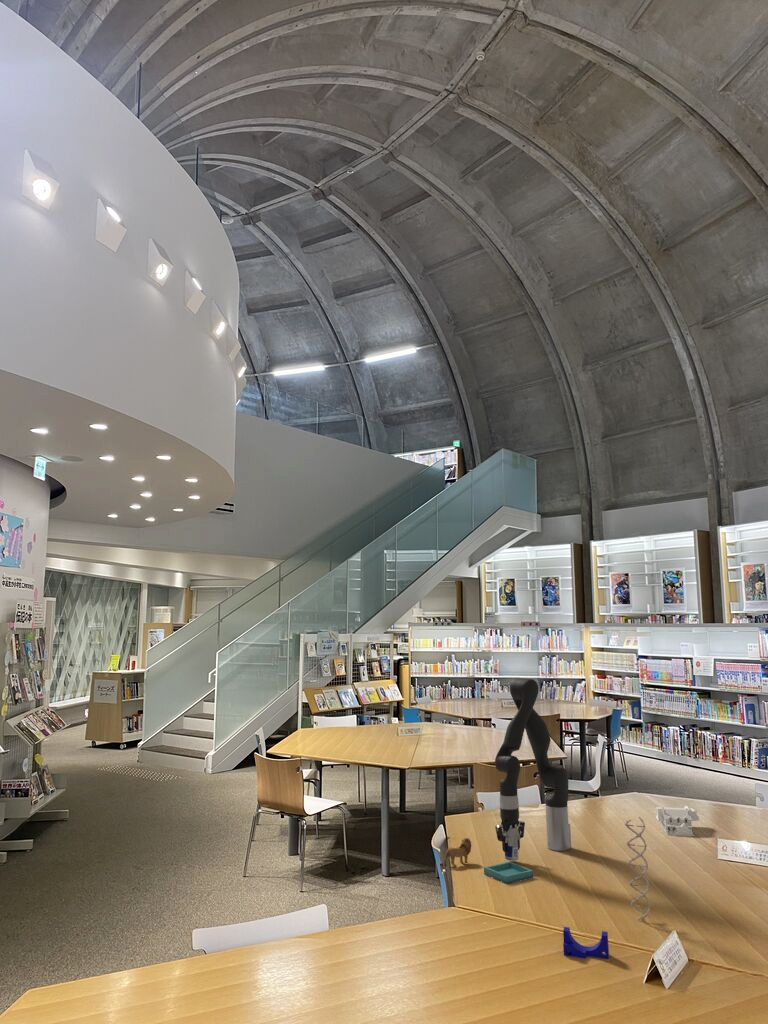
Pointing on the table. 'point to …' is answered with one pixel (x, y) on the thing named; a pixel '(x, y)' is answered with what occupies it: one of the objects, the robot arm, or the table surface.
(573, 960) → the table surface
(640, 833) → the dna model
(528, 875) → the tray
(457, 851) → the lion figurine
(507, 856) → the energy drink
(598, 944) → the blue curved block
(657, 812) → the house model
